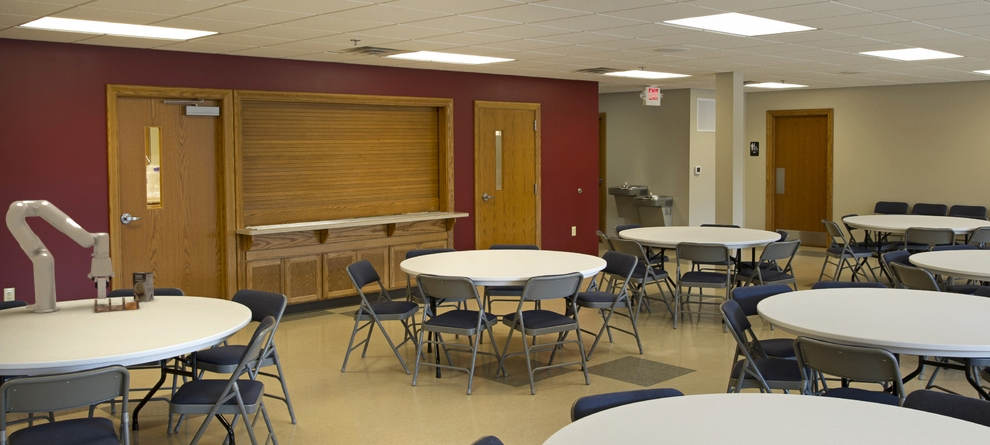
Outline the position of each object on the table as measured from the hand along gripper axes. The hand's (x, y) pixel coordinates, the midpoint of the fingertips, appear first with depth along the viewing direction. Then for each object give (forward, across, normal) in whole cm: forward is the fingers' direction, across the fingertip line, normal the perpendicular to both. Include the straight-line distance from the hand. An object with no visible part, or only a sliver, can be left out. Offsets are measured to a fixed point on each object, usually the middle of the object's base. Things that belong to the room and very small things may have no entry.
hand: (101, 288), depth 456 cm
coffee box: (+9, +21, +5) cm, 24 cm away
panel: (+5, 0, 0) cm, 5 cm away
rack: (+9, +7, -15) cm, 19 cm away
